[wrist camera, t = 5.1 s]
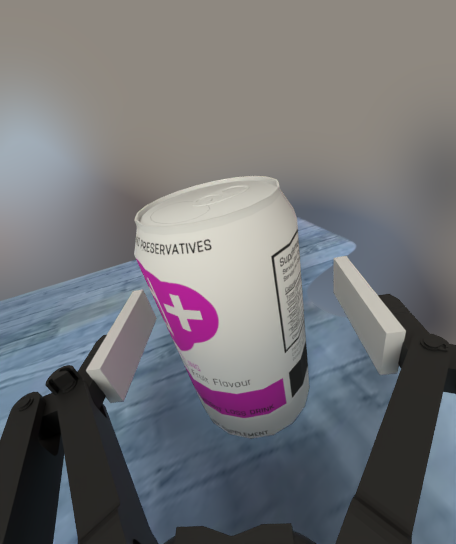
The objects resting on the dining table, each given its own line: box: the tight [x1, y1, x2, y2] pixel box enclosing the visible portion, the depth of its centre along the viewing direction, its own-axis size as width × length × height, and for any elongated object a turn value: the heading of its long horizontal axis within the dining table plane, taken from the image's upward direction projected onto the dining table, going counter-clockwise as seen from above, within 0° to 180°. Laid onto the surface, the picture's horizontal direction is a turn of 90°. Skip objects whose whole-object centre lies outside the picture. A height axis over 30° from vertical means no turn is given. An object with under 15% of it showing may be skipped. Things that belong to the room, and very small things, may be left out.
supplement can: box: [134, 176, 309, 439], centre depth 16 cm, size 8×8×15 cm
